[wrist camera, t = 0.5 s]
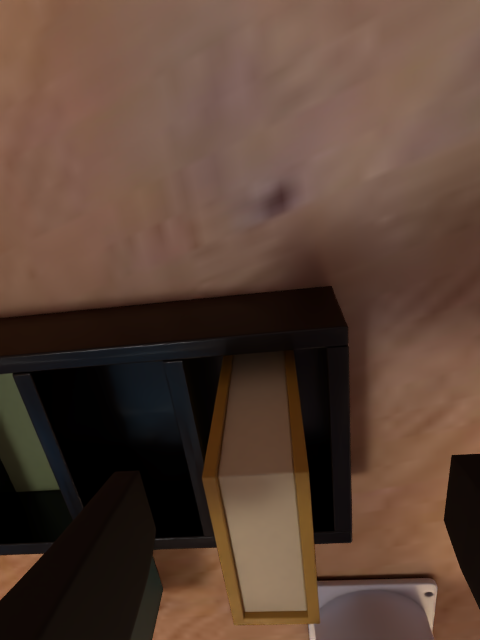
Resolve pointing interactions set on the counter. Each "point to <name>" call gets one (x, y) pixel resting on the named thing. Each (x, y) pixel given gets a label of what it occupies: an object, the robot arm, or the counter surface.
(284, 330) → the caddy
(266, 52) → the counter surface
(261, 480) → the mustard book
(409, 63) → the counter surface
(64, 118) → the counter surface
